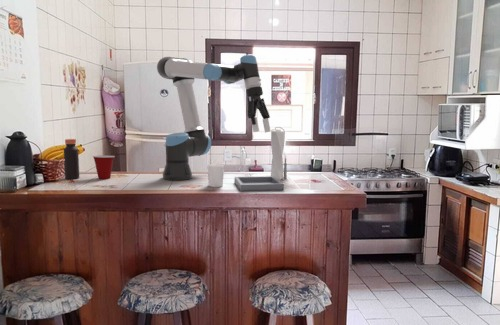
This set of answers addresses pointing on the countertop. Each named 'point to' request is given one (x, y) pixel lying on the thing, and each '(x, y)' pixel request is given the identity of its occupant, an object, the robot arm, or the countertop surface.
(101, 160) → the plastic cup
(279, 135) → the skyscraper
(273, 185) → the slate tray
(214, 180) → the white cup
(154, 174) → the countertop surface
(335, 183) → the countertop surface
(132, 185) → the countertop surface
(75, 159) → the bottle
